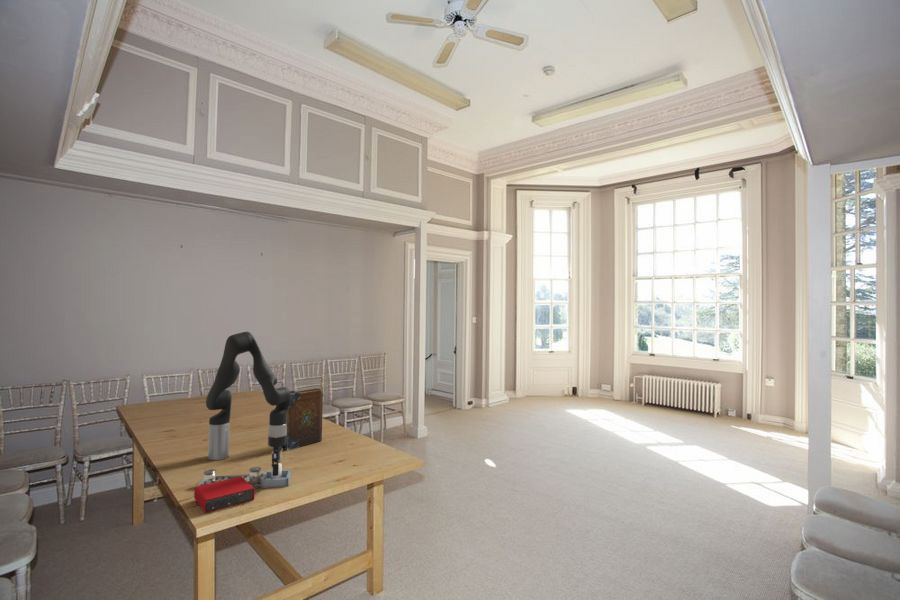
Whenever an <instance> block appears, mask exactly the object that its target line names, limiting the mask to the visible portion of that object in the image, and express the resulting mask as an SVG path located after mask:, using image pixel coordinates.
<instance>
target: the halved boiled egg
mask: <svg viewBox="0 0 900 600" xmlns="http://www.w3.org/2000/svg"><path fill="white" fill-rule="evenodd" d="M274 464H277V462H276V463H275V462H274ZM282 468H283V463H282V462H280V463H279V467H278V475H277V476H273V467H272V463H271V464H270V471H271V479H281V478H282V470H283V469H282Z"/></svg>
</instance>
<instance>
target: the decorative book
mask: <svg viewBox="0 0 900 600" xmlns="http://www.w3.org/2000/svg"><path fill="white" fill-rule="evenodd" d="M289 391H290V393H291V400H290V404H289V408H288V411H287V422H286V425H287V442H286V445H284V446H282V449H285V452H286V451H287V452H288V451H293V450H296V449H298V448H299V447H303V446H307V445H310V444H314V443H317V442H321V441H322V440H323V439H322V437H323V406H324V405H323V401H324V398H323V397H324V389H323V388H320V387H319V388H317V387H316V388H307V389H302V390H289Z"/></svg>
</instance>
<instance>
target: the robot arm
mask: <svg viewBox="0 0 900 600" xmlns="http://www.w3.org/2000/svg"><path fill="white" fill-rule="evenodd" d="M247 352H249V353H250V354H251V357H252V361H253V364H252V366H253V367H252V369H253V370H252V372H253V376H254V377H255V379H256V381H257V382H258V384H259V385H260V387H261V389H262V391H263V396H264V398H265V401H266V402H267V404H269V405H270V406H275V408H274V409H272V410H271V411H270V412H269V422H268V423H269V424H268V432H267V433H268V434H267V436H268V438H267V445H268V447H271V448H272V450H271V464H272V467H273V476H277V475H278V467H279V463H281V461H282V457H283V448H282V446H284V445H286V442H287V425H286V422H287V411H288V408H289V404H290V400H291V393H290V391H291V390H290V389H289V388H288V387H286V386H282V387H277V388H276V387H275V386H276V385H277V384H278V379H277V377H276V375H275V374H274V372H273V371H272V370H271V368H270V367H269V364H268V363H267V362H266V359H265V358H264V356H263V352H262V350H261V348H260V346H259V345H258V343H257V341H256V339H255V336H254V335H253V334H252V333H251V332H249V331H243V332H238V333H234V334H231V335H230V336H228V337H227V338H226V341H225V344H224V349H223V353H222V354H223V356H222V359H221V361H220V364H219V367H218V369H217V372H216V375H215V378H214V381H213V383H212V385H211V388H210V389H209V392H207V393H208V394H207V395H206V400H205V405H206V408H207V409H208V410H209V411H217V410H220V411H218V413H216V414H214V415H212V416H210V417H209V420H208V445H207V446H208V447H207V448H208V449H207V450H208V451H207V452H208V453H207V459H208V460H210V461H219V460H225V459H227V458H229V455H230V453H229V452H230V431H231V430H230V429H231V428H230V427H231V426H230V425H231V424H230V423H231V421H230V420H231V410H232V400H233V399H232V398H233V397H232V392H231V391H230V390H227V389H229V388H230V387H232V386H233V385H234V384H235V383H236V381H237V379H238V376H239V374H240V372H241V371H240V370H241V368H240V365H239V364H238V362H237V360H236V358H237V356H239V355H241V354H244V353H247ZM276 462H277V464H274V463H276Z"/></svg>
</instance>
